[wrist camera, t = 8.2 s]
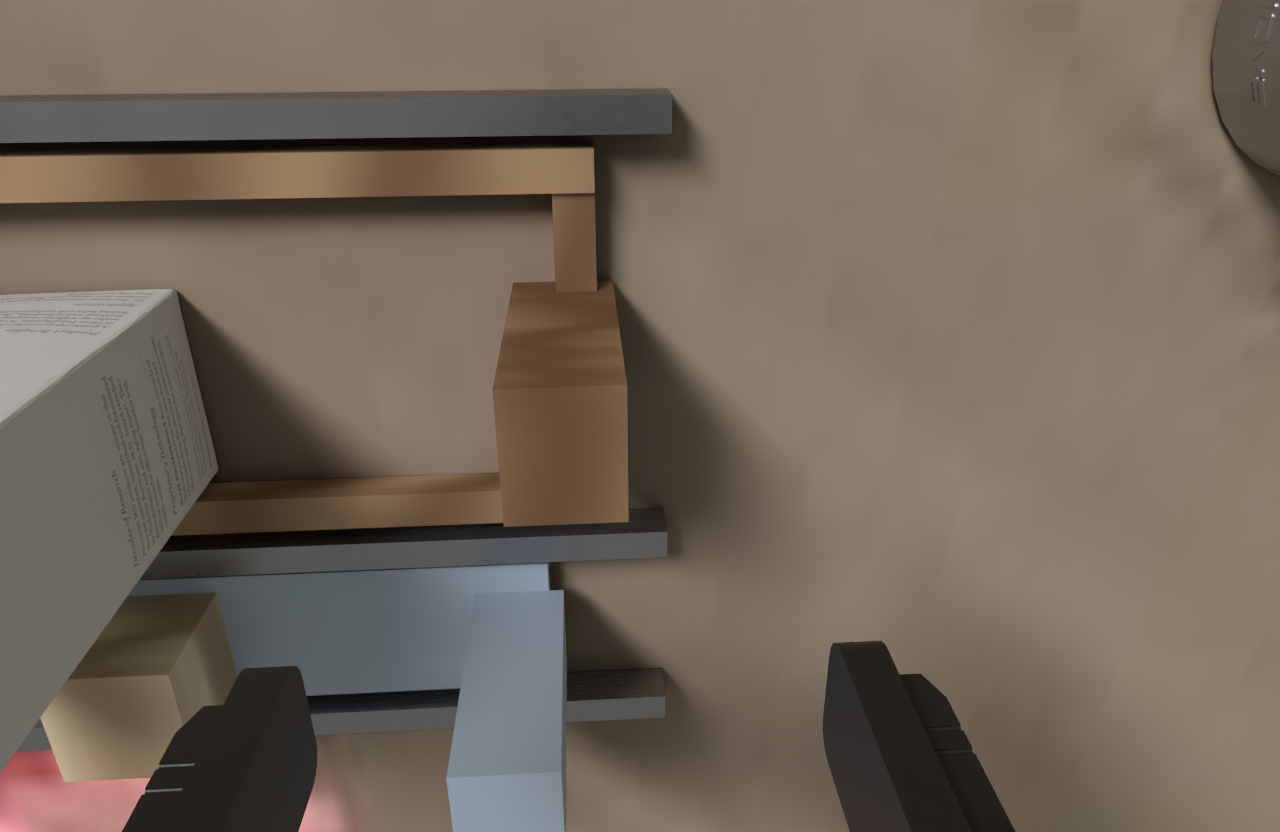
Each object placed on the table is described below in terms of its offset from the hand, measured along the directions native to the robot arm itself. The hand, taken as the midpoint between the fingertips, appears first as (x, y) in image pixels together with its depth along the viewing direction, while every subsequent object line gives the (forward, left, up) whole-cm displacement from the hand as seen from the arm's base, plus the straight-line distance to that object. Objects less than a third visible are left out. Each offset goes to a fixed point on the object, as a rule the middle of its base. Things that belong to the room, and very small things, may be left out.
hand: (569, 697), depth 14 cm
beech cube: (+14, +11, -15) cm, 23 cm away
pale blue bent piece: (+10, +11, -16) cm, 22 cm away
